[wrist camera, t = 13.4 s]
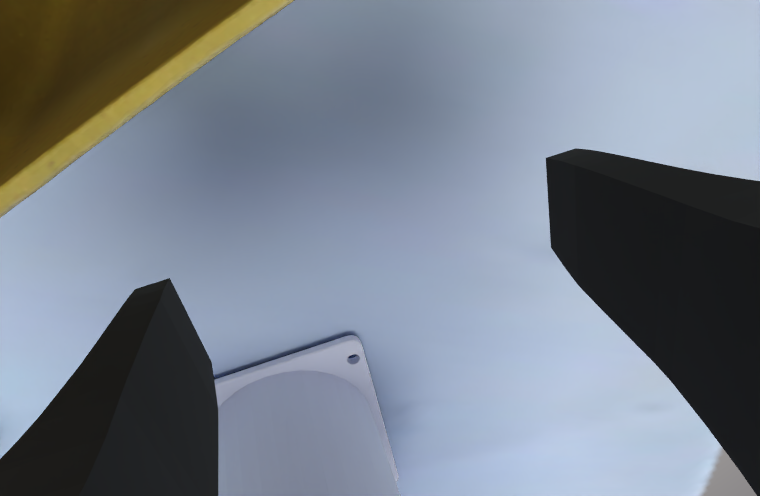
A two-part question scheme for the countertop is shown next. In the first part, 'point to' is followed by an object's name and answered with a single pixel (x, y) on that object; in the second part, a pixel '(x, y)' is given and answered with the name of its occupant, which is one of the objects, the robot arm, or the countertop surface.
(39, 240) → the countertop surface
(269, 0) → the flower pot
